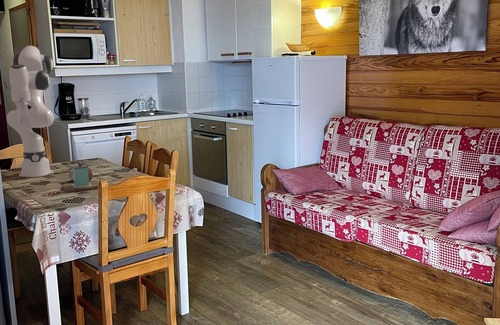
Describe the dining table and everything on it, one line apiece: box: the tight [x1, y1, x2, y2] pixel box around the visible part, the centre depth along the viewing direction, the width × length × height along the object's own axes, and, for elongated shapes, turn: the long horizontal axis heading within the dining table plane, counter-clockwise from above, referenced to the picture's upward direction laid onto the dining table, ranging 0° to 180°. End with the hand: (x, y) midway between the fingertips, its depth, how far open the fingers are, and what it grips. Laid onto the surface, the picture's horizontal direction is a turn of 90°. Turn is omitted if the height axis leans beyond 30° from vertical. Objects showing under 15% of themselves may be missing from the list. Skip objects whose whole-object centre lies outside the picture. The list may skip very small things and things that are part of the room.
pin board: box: [61, 180, 99, 194], centre depth 265 cm, size 14×18×5 cm
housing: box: [71, 161, 89, 187], centre depth 264 cm, size 5×7×12 cm
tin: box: [67, 166, 94, 182], centre depth 279 cm, size 15×3×8 cm, turn 68°
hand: (24, 124), depth 256 cm, fingers open, 8 cm apart
